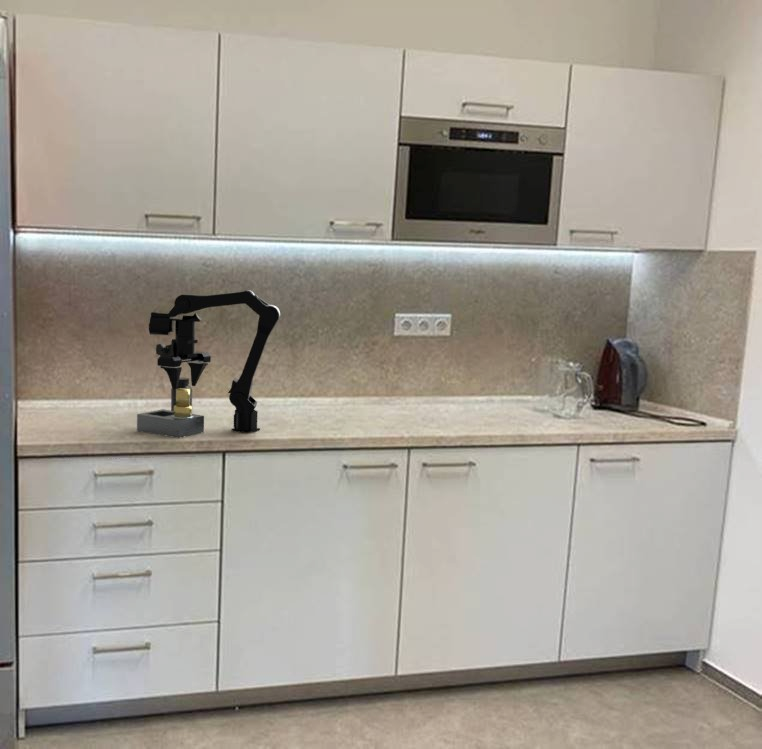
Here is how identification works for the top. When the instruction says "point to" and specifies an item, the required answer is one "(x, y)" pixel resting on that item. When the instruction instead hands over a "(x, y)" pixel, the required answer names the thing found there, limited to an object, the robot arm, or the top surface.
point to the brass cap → (182, 403)
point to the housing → (169, 423)
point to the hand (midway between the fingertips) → (184, 387)
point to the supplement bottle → (181, 384)
